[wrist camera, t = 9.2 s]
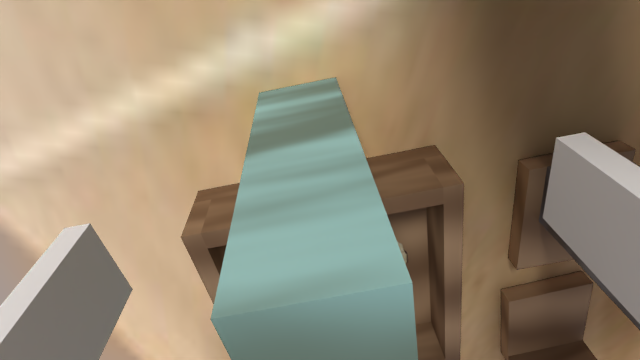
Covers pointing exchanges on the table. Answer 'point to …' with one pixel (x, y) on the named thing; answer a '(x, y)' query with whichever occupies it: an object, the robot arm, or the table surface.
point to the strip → (546, 319)
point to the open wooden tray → (330, 241)
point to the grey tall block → (534, 232)
